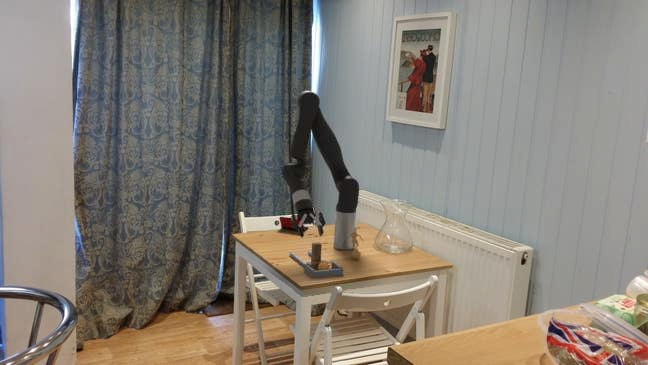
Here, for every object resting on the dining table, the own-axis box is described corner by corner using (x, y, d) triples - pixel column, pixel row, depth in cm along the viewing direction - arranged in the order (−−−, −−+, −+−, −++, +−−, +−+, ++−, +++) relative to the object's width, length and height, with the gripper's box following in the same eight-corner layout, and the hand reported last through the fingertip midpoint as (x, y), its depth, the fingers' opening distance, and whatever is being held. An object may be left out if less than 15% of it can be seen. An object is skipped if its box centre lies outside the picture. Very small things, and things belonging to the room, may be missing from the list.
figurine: (350, 261, 241) (352, 234, 239) (342, 257, 247) (344, 231, 244) (366, 259, 246) (368, 233, 244) (358, 255, 251) (360, 229, 249)
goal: (333, 268, 232) (334, 261, 231) (342, 275, 224) (343, 268, 223) (304, 271, 226) (304, 263, 226) (312, 278, 219) (312, 270, 218)
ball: (330, 273, 224) (326, 271, 228) (330, 262, 224) (325, 260, 228) (320, 274, 222) (315, 272, 226) (320, 263, 222) (315, 261, 226)
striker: (319, 263, 235) (321, 241, 234) (327, 269, 229) (328, 246, 227) (306, 265, 233) (307, 242, 231) (313, 270, 226) (315, 247, 225)
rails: (310, 254, 249) (310, 250, 249) (329, 268, 231) (329, 264, 231) (289, 255, 245) (289, 252, 245) (307, 270, 227) (307, 266, 227)
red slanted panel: (308, 229, 293) (309, 215, 291) (301, 234, 282) (302, 219, 281) (286, 225, 296) (286, 212, 295) (278, 230, 286) (279, 216, 285)
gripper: (289, 198, 238) (298, 232, 230) (320, 197, 244) (330, 230, 235) (284, 208, 243) (293, 241, 235) (315, 206, 249) (324, 239, 241)
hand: (312, 235), depth 235 cm, fingers open, 8 cm apart
